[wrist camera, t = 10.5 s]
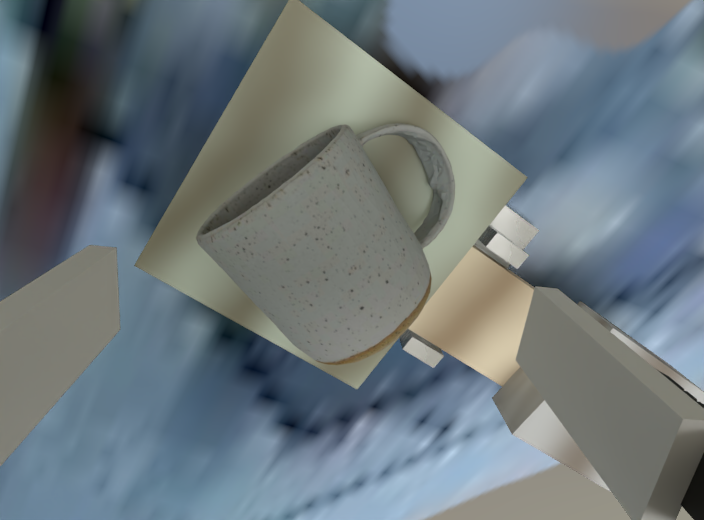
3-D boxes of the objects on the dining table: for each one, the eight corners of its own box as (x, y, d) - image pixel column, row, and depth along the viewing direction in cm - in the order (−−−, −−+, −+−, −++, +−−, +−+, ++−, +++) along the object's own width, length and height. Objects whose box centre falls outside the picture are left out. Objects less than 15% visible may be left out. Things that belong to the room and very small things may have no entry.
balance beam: (150, 249, 26) (115, 283, 22) (295, 4, 23) (288, -17, 18) (566, 486, 34) (603, 546, 30) (723, 334, 30) (792, 376, 26)
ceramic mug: (313, 325, 26) (313, 415, 18) (212, 207, 23) (166, 258, 16) (477, 212, 24) (546, 262, 17) (389, 73, 22) (427, 63, 14)
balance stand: (345, 296, 35) (349, 346, 28) (445, 162, 32) (477, 180, 25) (429, 349, 36) (452, 407, 30) (532, 225, 33) (583, 259, 27)
